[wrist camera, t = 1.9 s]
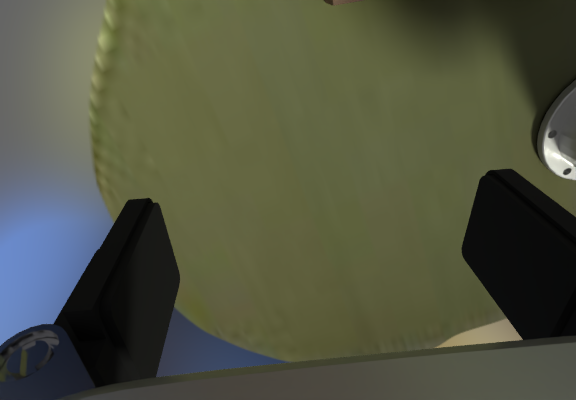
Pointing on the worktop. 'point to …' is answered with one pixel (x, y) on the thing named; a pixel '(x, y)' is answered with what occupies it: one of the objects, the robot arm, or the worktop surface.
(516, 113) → the worktop surface
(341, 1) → the deck
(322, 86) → the worktop surface
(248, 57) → the worktop surface
